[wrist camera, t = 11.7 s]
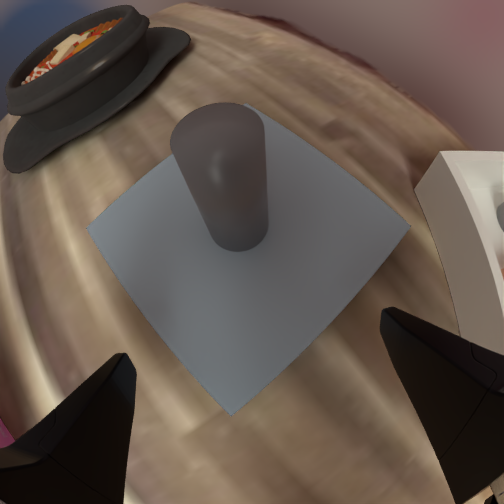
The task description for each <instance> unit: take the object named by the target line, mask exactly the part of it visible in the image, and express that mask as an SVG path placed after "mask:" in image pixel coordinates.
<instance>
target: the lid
mask: <svg viewBox="0 0 504 504" xmlns="http://www.w3.org/2000/svg"><path fill="white" fill-rule="evenodd" d="M170 146H171V150H172V154H171V155H170V156H169V157H167V158H166V159H165V160H163V161H162V162H161V163H160V164H158V165H157V166H156V167H154V168H153V169H152V170H151V171H150V172H148V173H147V174H146V175H145V176H143V177H142V178H141V179H140V180H139V181H137V182H136V183H135V184H134V185H133V186H131V187H130V188H129V189H128V190H127V191H126V192H125V193H123V194H122V195H121V196H120V197H119V198H118V199H117V200H115V201H114V202H113V203H112V204H111V205H110V206H109V207H108V208H107V209H106V210H104V211H103V212H102V213H101V214H100V215H99V216H98V217H97V218H96V219H95V220H94V221H93V222H92V223H91V224H90V225H89V226H88V227H87V228H86V229H87V231H88V232H89V234H90V236H91V238H92V239H93V241H94V242H95V244H96V246H97V247H98V249H99V251H100V252H101V254H102V255H103V257H104V259H105V260H106V262H107V263H108V265H109V266H110V268H111V269H112V271H113V272H114V274H115V275H116V277H117V278H118V280H119V281H120V283H121V284H122V286H123V287H124V289H125V290H126V292H127V293H128V294H129V296H130V297H131V299H132V300H133V301H134V303H135V304H136V306H137V307H138V308H139V310H140V311H141V312H142V314H143V315H144V316H145V318H146V319H147V320H148V322H149V323H150V324H151V326H152V327H153V328H154V330H155V331H156V332H157V333H158V335H159V336H160V337H161V338H162V340H163V341H164V342H165V343H166V345H167V346H168V347H169V348H170V350H171V351H172V352H173V353H174V354H175V356H176V357H177V358H178V359H179V360H180V362H181V363H182V364H183V365H184V366H185V367H186V369H187V370H188V371H189V372H190V373H191V374H192V375H193V377H194V378H195V379H196V380H197V381H198V382H199V383H200V384H201V385H202V387H203V388H204V389H205V390H206V391H207V392H208V393H209V394H210V395H211V396H212V397H213V398H214V399H215V401H216V402H217V403H218V404H219V405H220V406H221V407H222V408H223V409H224V410H225V411H226V412H227V413H228V414H229V415H230V416H232V415H233V414H235V413H236V412H237V411H238V410H239V409H241V408H242V407H243V406H244V405H245V404H247V403H248V402H249V401H250V400H251V399H252V398H253V397H255V396H256V395H257V394H258V393H259V392H260V391H261V390H263V389H264V388H265V387H266V386H267V385H268V384H269V383H270V382H271V381H272V380H274V379H275V378H276V377H277V376H278V375H279V374H280V373H281V372H282V371H283V370H284V369H285V368H286V367H287V366H288V365H289V364H291V363H292V362H293V361H294V360H295V359H296V358H297V357H298V356H299V355H300V354H301V353H302V352H303V351H304V350H305V349H306V348H307V347H308V346H309V345H310V344H311V343H312V342H313V341H314V340H315V339H316V338H317V337H318V336H319V335H320V334H321V333H322V331H323V330H324V329H325V328H326V327H327V326H328V325H329V324H330V323H331V322H332V321H333V320H334V319H335V318H336V317H337V316H338V314H339V313H340V312H341V311H342V310H343V309H344V308H345V307H346V306H347V304H348V303H349V302H350V301H351V300H352V299H353V298H354V297H355V295H356V294H357V293H358V292H359V291H360V290H361V289H362V287H363V286H364V285H365V284H366V283H367V282H368V280H369V279H370V278H371V277H372V276H373V274H374V273H375V272H376V271H377V270H378V268H379V267H380V266H381V265H382V263H383V262H384V261H385V260H386V258H387V257H388V256H389V255H390V253H391V252H392V251H393V250H394V248H395V247H396V246H397V244H398V243H399V242H400V241H401V239H402V238H403V237H404V235H405V234H406V233H407V231H408V230H409V229H410V227H411V225H409V224H408V223H407V222H406V221H405V220H404V219H403V218H402V217H401V216H400V215H398V214H397V213H396V212H395V211H394V210H393V209H392V208H391V207H389V206H388V205H387V204H386V203H385V202H384V201H382V200H381V199H380V198H379V197H378V196H377V195H375V194H374V193H373V192H372V191H371V190H369V189H368V188H367V187H366V186H364V185H363V184H362V183H361V182H359V181H358V180H357V179H356V178H354V177H353V176H352V175H351V174H349V173H348V172H347V171H345V170H344V169H343V168H342V167H340V166H339V165H338V164H336V163H335V162H334V161H332V160H331V159H330V158H328V157H327V156H326V155H324V154H323V153H321V152H320V151H319V150H317V149H316V148H314V147H313V146H312V145H310V144H309V143H307V142H306V141H304V140H303V139H302V138H300V137H299V136H297V135H296V134H294V133H293V132H291V131H290V130H288V129H287V128H285V127H284V126H282V125H281V124H279V123H277V122H276V121H274V120H273V119H271V118H270V117H268V116H266V115H265V114H263V113H262V112H260V111H258V110H257V109H255V108H253V107H252V106H250V105H248V104H247V103H245V104H244V105H240V104H235V103H215V104H210V105H206V106H203V107H201V108H198V109H196V110H194V111H192V112H191V113H189V114H188V115H186V116H185V117H184V118H183V119H182V120H181V121H180V122H179V123H178V124H177V125H176V127H175V128H174V130H173V132H172V135H171V139H170Z"/></svg>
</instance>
